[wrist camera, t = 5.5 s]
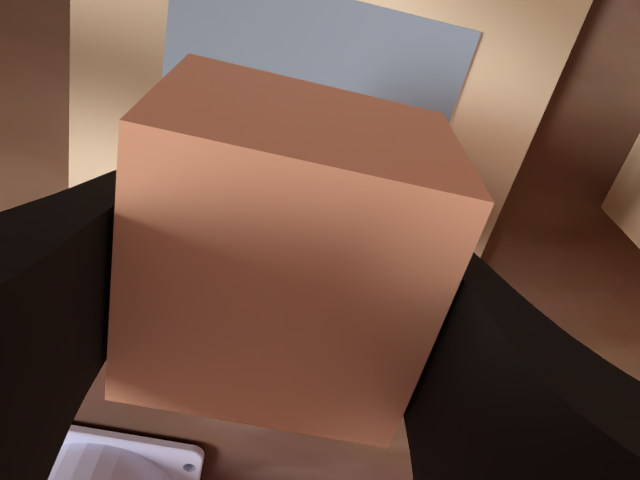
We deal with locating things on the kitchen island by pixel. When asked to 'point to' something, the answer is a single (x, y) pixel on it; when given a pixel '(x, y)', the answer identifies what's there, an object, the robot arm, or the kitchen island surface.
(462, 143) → the baseboard
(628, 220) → the maple cap block
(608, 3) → the kitchen island surface
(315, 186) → the terracotta base block
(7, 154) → the kitchen island surface
